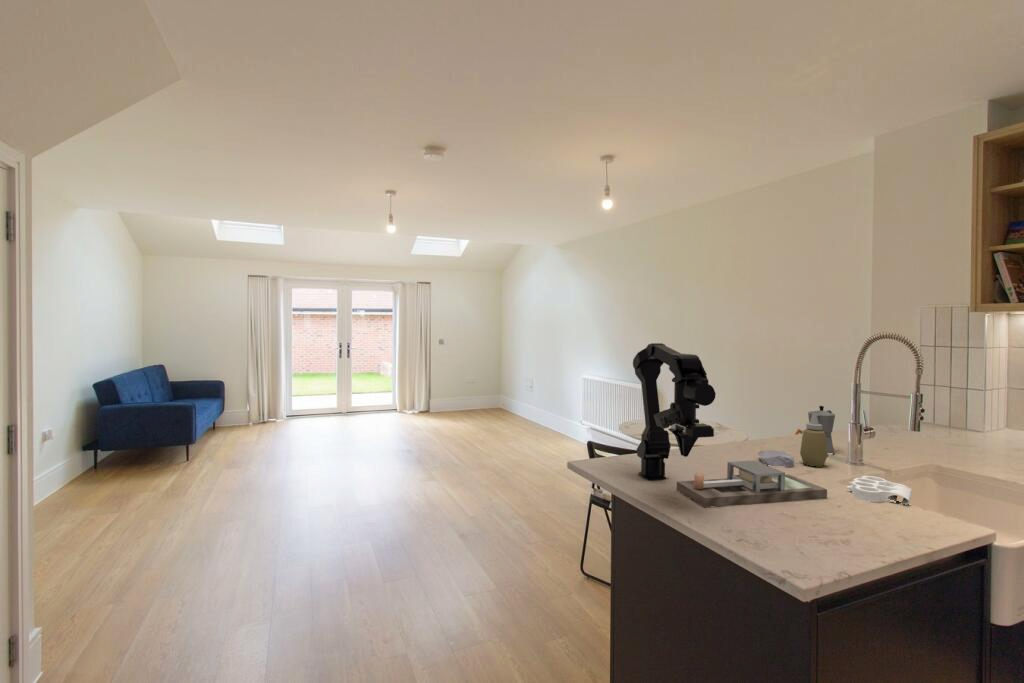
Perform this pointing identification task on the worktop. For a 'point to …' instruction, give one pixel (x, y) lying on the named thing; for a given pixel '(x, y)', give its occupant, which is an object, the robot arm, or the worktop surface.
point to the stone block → (776, 458)
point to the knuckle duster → (879, 490)
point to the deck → (752, 493)
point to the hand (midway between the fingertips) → (684, 455)
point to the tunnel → (756, 473)
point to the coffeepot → (825, 425)
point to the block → (749, 477)
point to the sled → (729, 483)
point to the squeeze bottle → (813, 444)
